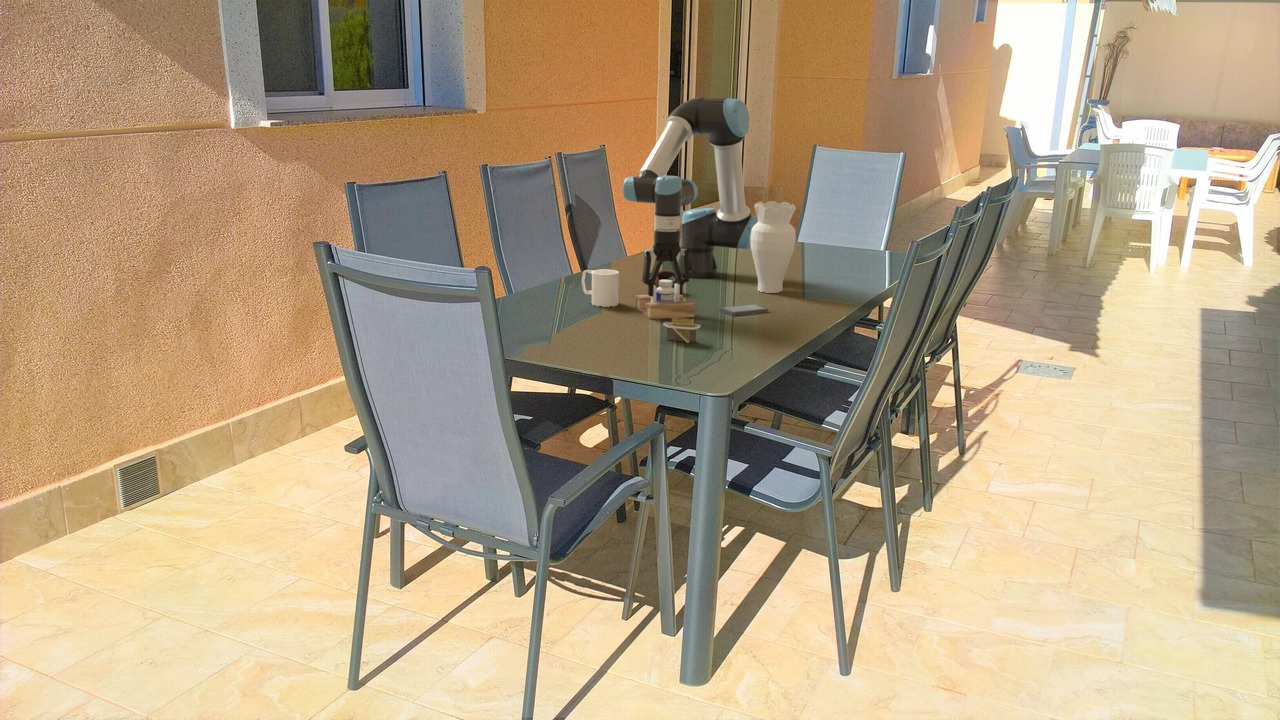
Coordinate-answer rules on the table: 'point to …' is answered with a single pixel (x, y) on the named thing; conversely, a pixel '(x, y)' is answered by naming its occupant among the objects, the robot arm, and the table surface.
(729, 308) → the phone slab
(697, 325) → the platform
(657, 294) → the pill bottle
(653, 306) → the socket holder
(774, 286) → the vase
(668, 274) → the pottery mug
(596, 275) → the cup
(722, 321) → the table surface
